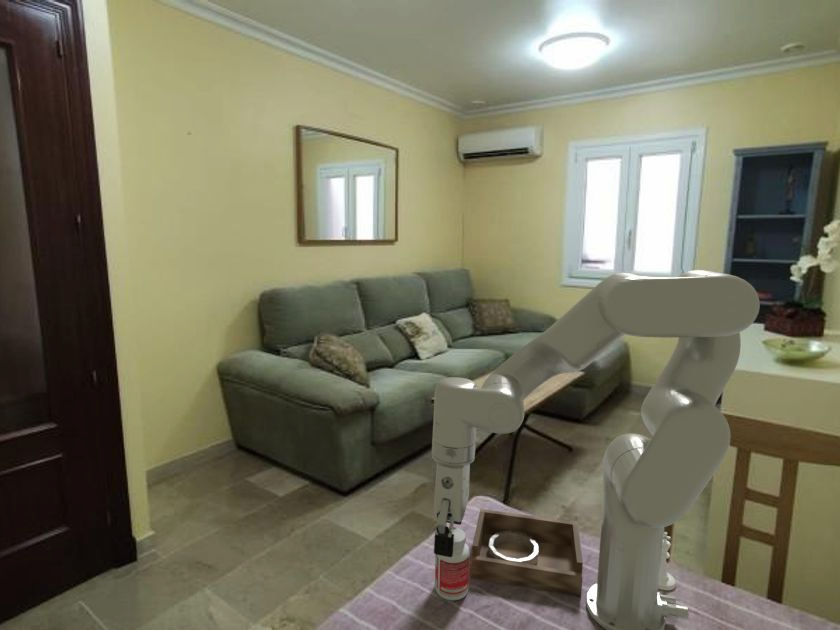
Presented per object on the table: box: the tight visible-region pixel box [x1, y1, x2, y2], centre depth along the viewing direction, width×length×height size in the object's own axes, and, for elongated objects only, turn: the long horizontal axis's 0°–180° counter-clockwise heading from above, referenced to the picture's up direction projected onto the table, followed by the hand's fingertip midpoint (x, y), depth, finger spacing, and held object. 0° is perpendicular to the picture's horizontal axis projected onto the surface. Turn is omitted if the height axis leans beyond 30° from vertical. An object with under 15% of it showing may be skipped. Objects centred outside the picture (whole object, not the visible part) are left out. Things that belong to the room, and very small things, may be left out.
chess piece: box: [658, 531, 676, 591], centre depth 91 cm, size 5×5×10 cm
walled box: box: [470, 508, 584, 598], centre depth 96 cm, size 20×14×6 cm
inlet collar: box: [489, 531, 538, 565], centre depth 97 cm, size 10×10×2 cm
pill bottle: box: [434, 526, 470, 601], centre depth 88 cm, size 6×6×11 cm
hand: (448, 537), depth 88 cm, fingers open, 9 cm apart
